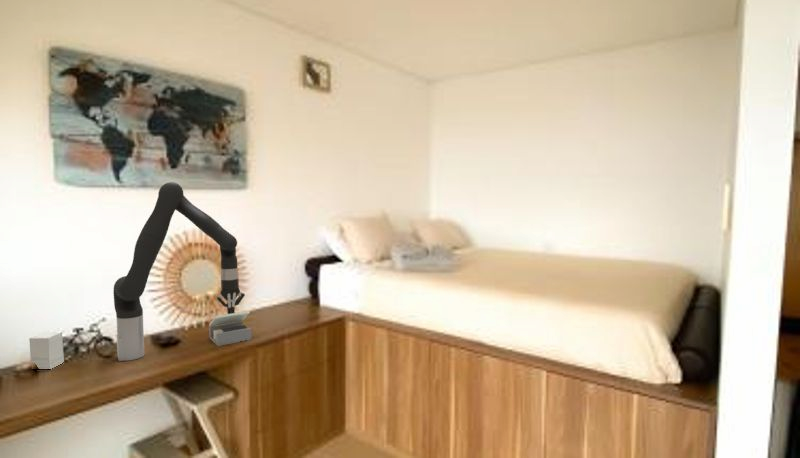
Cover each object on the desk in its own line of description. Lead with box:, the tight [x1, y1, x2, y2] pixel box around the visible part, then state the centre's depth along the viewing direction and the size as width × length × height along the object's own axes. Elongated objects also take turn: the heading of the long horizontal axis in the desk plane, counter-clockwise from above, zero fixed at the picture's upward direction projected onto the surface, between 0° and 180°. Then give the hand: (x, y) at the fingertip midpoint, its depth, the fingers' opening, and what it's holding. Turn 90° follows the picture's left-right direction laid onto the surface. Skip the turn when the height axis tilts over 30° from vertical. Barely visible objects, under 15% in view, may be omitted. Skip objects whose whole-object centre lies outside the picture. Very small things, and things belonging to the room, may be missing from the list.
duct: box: [208, 321, 253, 347], centre depth 204 cm, size 15×13×5 cm
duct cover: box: [208, 310, 251, 327], centre depth 204 cm, size 15×13×1 cm
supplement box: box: [28, 331, 65, 370], centre depth 169 cm, size 7×7×13 cm
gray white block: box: [213, 325, 248, 341], centre depth 204 cm, size 4×14×4 cm, turn 128°
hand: (231, 314), depth 203 cm, fingers closed
